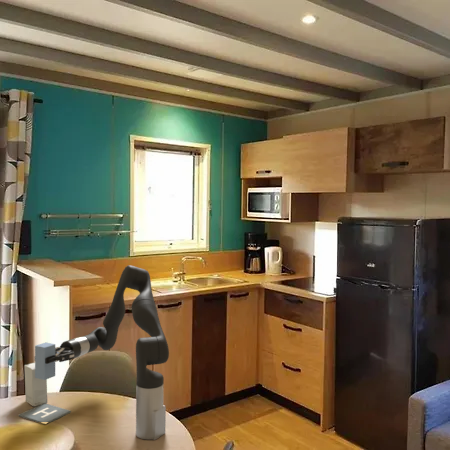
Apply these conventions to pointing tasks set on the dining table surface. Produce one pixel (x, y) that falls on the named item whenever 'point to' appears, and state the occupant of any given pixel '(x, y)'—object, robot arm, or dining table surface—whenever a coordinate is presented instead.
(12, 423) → the dining table surface
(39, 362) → the blue block
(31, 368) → the skincare box
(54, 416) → the letter mat
